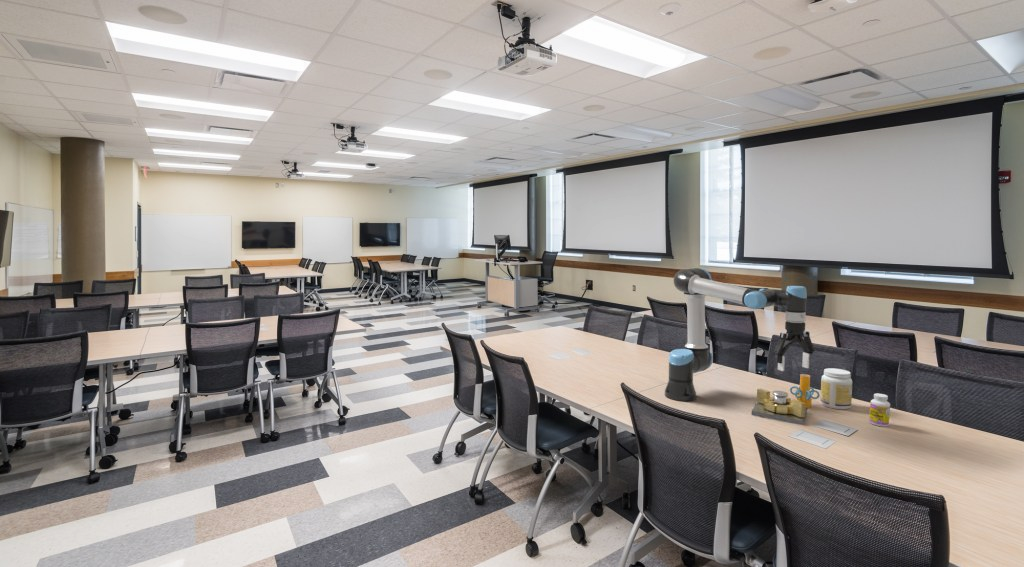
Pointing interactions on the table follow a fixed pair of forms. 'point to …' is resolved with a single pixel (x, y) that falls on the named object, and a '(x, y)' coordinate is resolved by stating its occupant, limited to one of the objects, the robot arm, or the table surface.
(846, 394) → the supplement tub
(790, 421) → the flange plate
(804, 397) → the cylinder
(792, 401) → the tan handled ring
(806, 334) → the robot arm
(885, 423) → the supplement bottle
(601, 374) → the table surface
